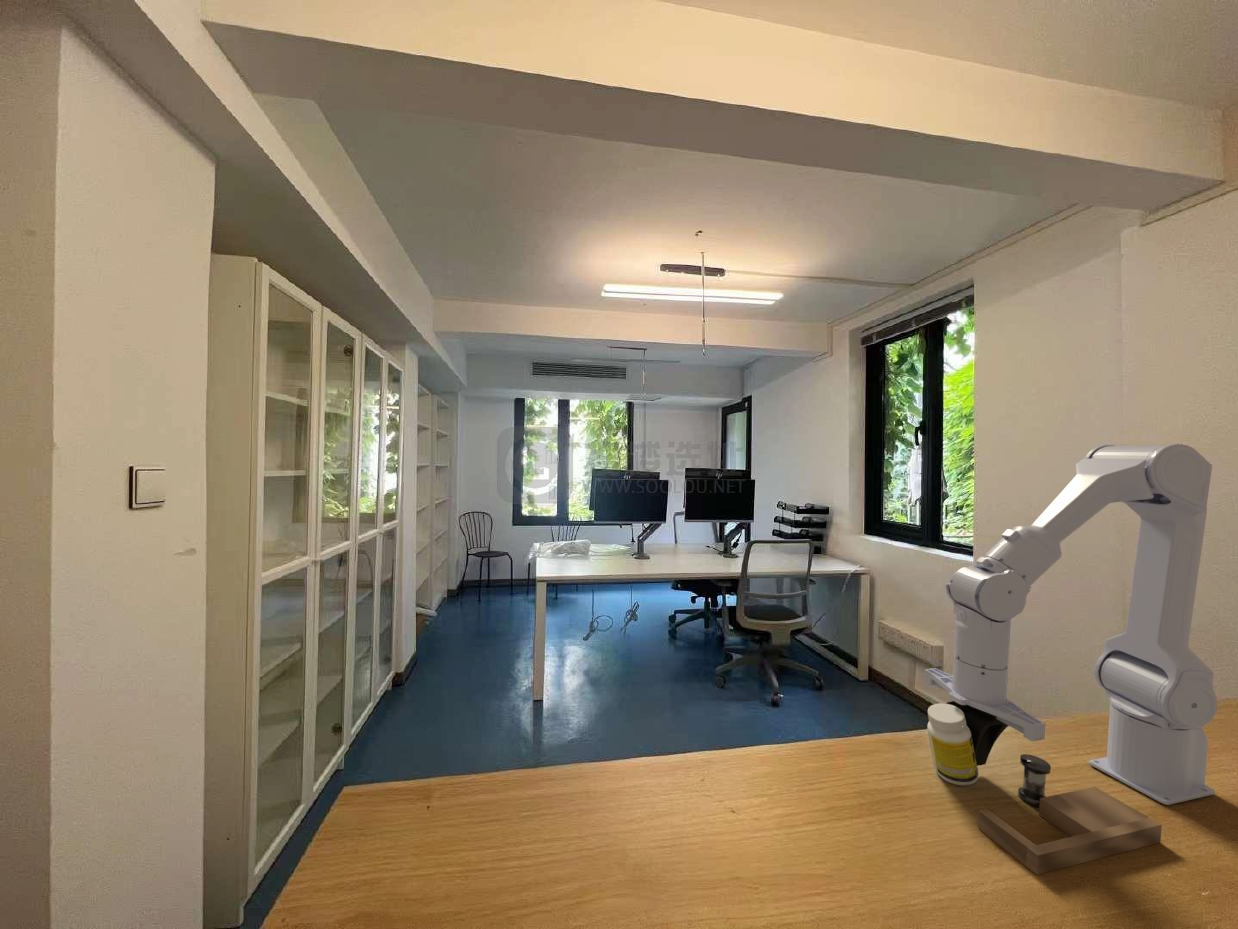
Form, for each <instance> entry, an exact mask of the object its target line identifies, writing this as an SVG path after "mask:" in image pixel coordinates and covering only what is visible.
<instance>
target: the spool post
mask: <svg viewBox="0 0 1238 929" xmlns="http://www.w3.org/2000/svg"><path fill="white" fill-rule="evenodd" d="M1019 757H1020V759H1019V763H1020V764H1021V765H1022V766H1023V776H1022V778H1023V780H1022V786H1020V787H1019V788H1018V792H1017V795H1018V798H1019V799H1020V800H1021V801H1022V802H1024V803H1025V804H1027V805H1029V804H1030V805H1029V806H1031V807H1035V808H1037V809H1039V806H1040V798H1043V797H1047V796H1046V795H1045V792H1046V777H1047V775H1049V774H1050V773H1051V771H1052V770H1051V768H1052V766H1051V764H1050V763H1049V762H1048V761H1046V760H1045V759H1043V758H1041V757H1039V756H1036V755H1032V754H1030V753H1029V754H1028V753H1024V754H1021V755H1020V756H1019Z"/></svg>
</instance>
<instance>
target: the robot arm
mask: <svg viewBox="0 0 1238 929" xmlns="http://www.w3.org/2000/svg"><path fill="white" fill-rule="evenodd" d="M1212 471H1213V465H1212V464H1211V463H1210V462H1209V461H1208V460H1207V459H1206V458H1205V457H1204V455H1202V454H1201V453H1200V452H1198V450H1197V449H1195V448H1194V447H1191V446H1190V445H1187V444H1186V445H1185V444H1182V443H1181V444H1180V443H1173V444H1167V445H1163V444H1162V445H1161V444H1160V445H1116V444H1115V445H1114V444H1101V445H1098V446H1096V447H1094V448H1092V449H1091V450H1090V451H1088V452H1087V454H1086V455H1085V457H1084V458H1081V460H1080V461H1078V462H1076V464H1075V476H1074V477H1073V478H1072V479H1071V480H1070V481H1069V483H1068V484H1067V485H1065V487H1064V488H1063V490H1061V491H1060V493H1059V494H1058V495H1057V496H1056V497H1055V498H1054V499H1053V500H1052V501H1051V503H1049V505H1048V506H1047V507H1046V508H1045V509H1044V510H1043V512H1042V513H1041V514H1039V516H1038V517H1037V518H1036V519H1035V520H1034V521H1033V523H1032V524H1031V525H1017V526H1013V527H1012V528H1011V529H1009V528H1007V529H1006V530H1005V531H1004V532H1003V533H1001V534H1000V535H1001V537H1002V538H1001V539H1000V540H999V541H998V542H996V544H995V545H993V547H991V548H990V549H989V550H988V551H987V552H986V553H985V554H984V555H983V556H979V558H978V559H976V560H975V563H974V565H968V566H967V567H966V566H964V567H961V568H959V569H958V570H956V571H955V572H954V573H953V575H952V576H951V578H950V581H949V583H945V591H946V594H947V596H948V597H949V599H950V600H951V602H952V604H953V614H955V617H954V618H955V621H954V622H955V623H954V626H955V627H954V642H953V666H952V673H951V674H950V673H948V672H945V671H944V670H943V671H942V670H940V669H938V668H935V667H933V668H925V669H924V677H923V678H924V679H923V682H924V683H925V684H927V685H929V686H934V687H936V688H938V689H941V690H942V691H944V692H947V694H948V699H949V700H951V701H947V702H946V703H945V704H950V705H953V706H955V707H957V708H959V709H960V710H962V712H963V713H964V716H965V720H966V725H967V726H968V728H969V729H970V731H971V735H972V741H973V747H974V752H975V758H976V763H977V767H978V766H983V765H986V764H987V761H988V759H989V756H990V753H991V750H992V748H993V747H994V744H995V742H996V741H997V740H998V739H999V737H1000V735H1002V734H1003V732H1004V731H1005V730H1006V729H1007V728H1008V727H1010V728H1012V729H1014V730H1015V731H1018V732H1019V733H1021V734H1023V737H1024V738H1026V739H1027V740H1028V741H1031V742H1038V741H1042V740H1043V741H1044V740H1045V739H1046V723H1045V722H1043V721H1041V720H1040V719H1038V718H1036V717H1034V716H1033V715H1031V713H1028V712H1027V711H1025V710H1024V709H1023V708H1021V707H1020V706H1019V705H1018V704H1016V703H1015V702H1013V701H1012V700H1010V698H1008V697H1007V696H1008V678H1009V663H1010V662H1009V661H1010V660H1009V659H1010V658H1009V657H1010V643H1011V642H1010V640H1011V639H1010V638H1011V625H1012V624H1011V623H1012V619H1013V618H1015V617H1017V616H1018V615H1020V614H1022V613H1023V611H1024V609H1025V606H1026V603H1027V596H1028V595H1029V593H1030V592H1031V589H1032V585H1033V584H1035V582H1036V581H1038V580H1039V578H1041V577H1042V576H1043V575H1045V573H1046V572H1047V571H1048V570H1049V569H1050V568H1051V567H1053V565H1055V563H1056V562H1059V560H1060V559H1061V558H1062V554H1063V553H1062V548H1061V542H1063V541H1065V539H1067V538H1068V537H1070V535H1072V534H1073V533H1074V532H1075V531H1077V530H1078V529H1080V528H1081V527H1082V526H1083V525H1084V524H1085V523H1087V522H1089V521H1090V519H1092V518H1093V517H1094V516H1095V515H1097V514H1098V513H1099V512H1100V511H1101V510H1103V509H1104V508H1105V507H1107V506H1109V504H1112V503H1124V504H1125V505H1126V506H1128V507H1129V508H1130V509H1131V510H1132V511H1134V513H1135V514H1136V515H1138V516H1139V517H1140V523H1139V530H1138V531H1139V532H1138V539H1137V546H1136V552H1135V554H1136V555H1135V560H1134V566H1133V576H1132V581H1131V582H1132V583H1131V589H1130V590H1131V591H1130V597H1129V598H1130V599H1129V604H1128V612H1127V618H1126V625H1125V632H1123V633H1121V634H1117V635H1114V636H1112V637H1109V638H1107V639H1105V642H1104V648H1103V651H1102V652H1101V655H1100V656H1099V658H1098V659H1097V660H1096V662H1095V665H1094V671H1093V672H1094V678H1095V680H1096V682H1097V684H1098V685H1099V687H1101V688H1102V689H1103V690H1105V692H1104V693H1105V694H1104V697H1105V699H1107V700H1108V701H1109V702H1110V703H1109V720H1108V733H1107V748H1106V749H1107V750H1106V751H1107V752H1106V756H1104V757H1100V758H1094V759H1090V760H1088V764H1089V765H1090V766H1092V767H1094V768H1096V769H1097V770H1099V771H1101V772H1103V773H1104V774H1106V775H1109V776H1110V777H1112V778H1114V779H1116V780H1118V781H1120V782H1121V783H1123V784H1125V785H1128V786H1129V787H1131V788H1133V789H1135V790H1137V791H1138V792H1141V793H1142V794H1144V795H1145V796H1148V797H1150V798H1151V799H1153V800H1155V801H1157V802H1158V803H1160V804H1163V805H1166V806H1170V805H1174V804H1178V803H1182V802H1187V801H1191V800H1196V799H1200V798H1203V797H1208V796H1212V795H1216V790H1215V789H1214V788H1212V787H1210V786H1208V785H1206V774H1207V773H1206V772H1207V761H1208V760H1207V759H1208V749H1209V748H1208V746H1209V745H1208V744H1209V743H1208V738H1207V735H1206V734H1205V731H1204V729H1203V728H1202V727H1205V726H1206V725H1208V724H1209V723H1210V722H1211V721H1212V720H1213V719H1214V718H1215V716H1216V715H1217V712H1218V698H1217V695H1216V693H1215V690H1214V684H1213V683H1214V680H1213V679H1214V675H1215V674H1214V672H1213V670H1212V669H1211V668H1210V667H1209V666H1208V665H1207V664H1206V663H1205V662H1204V661H1203V660H1202V659H1201V658H1200V657H1199V656H1198V655H1196V653H1195V652H1193V650H1192V649H1191V648H1190V647H1189V640H1190V634H1191V627H1192V621H1193V620H1192V619H1193V612H1194V605H1195V598H1196V592H1197V584H1198V578H1199V569H1200V564H1201V557H1202V549H1203V542H1204V534H1205V528H1206V520H1207V514H1208V513H1207V512H1208V498H1209V492H1210V485H1211V484H1210V483H1211V479H1212V478H1211V476H1212Z"/></svg>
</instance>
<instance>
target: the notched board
mask: <svg viewBox="0 0 1238 929" xmlns="http://www.w3.org/2000/svg"><path fill="white" fill-rule="evenodd" d="M1038 809H1039V811H1038V815H1039V816H1040V817H1041V818H1043V819H1044V820H1045V821H1047V822H1049V823H1050V824H1052V825H1053V826H1055V827H1056V828H1057V829H1059V830H1061V831H1062V832H1063V833H1065V834H1067V835H1068V836H1069V837H1068V836H1067V837H1064V838H1060V839H1057V840H1052V841H1047V842H1043V843H1040V844H1035V843H1033V841H1031V840H1029V839H1028V838H1027V837H1026V836H1024V835H1023V834H1022V833H1020V832H1019V831H1017V830H1016V829H1015V828H1013V827H1012V825H1009V823H1007V822H1005V821H1004V820H1003V819H1001V818H1000V817H999V816H997V815H995V813H993V812H992V811H990V810H989V809H987V808H986V809H981V810H978V819H977V822H978V823H977V829H978V828H979V829H980V830H979V829H978V830H979V831H981V832H982V833H983V834H985V835H986V836H987V837H988V838H990V839H991V840H992V841H993V842H995V843H996V844H998V846H1000V847H1001V848H1002V849H1003V850H1005V851H1006V852H1007V853H1009V854H1010V855H1011V856H1013V858H1014V859H1016V860H1017V861H1019V862H1020V863H1021V864H1022V865H1023V866H1025V868H1027V869H1029V870H1030V871H1031V872H1032V873H1033V874H1035V875H1036V876H1038V875H1041V874H1046V873H1049V872H1055V871H1057V870H1060V869H1066V868H1069V867H1072V866H1077V865H1080V864H1084V863H1087V862H1090V861H1095V860H1099V859H1103V858H1107V857H1110V856H1114V855H1118V854H1122V853H1125V852H1126V853H1127V852H1129V851H1133V850H1137V849H1141V848H1145V847H1148V846H1152V845H1156V844H1159V843H1161V839H1162V838H1161V837H1162V828H1163V827H1162V824H1161V823H1159V822H1158V821H1156V820H1155V819H1153V818H1151V817H1149V816H1148V815H1146V814H1144V813H1142V812H1140V811H1138V810H1137V809H1135V808H1133V807H1131V806H1129V805H1128V804H1126V803H1124V802H1122V801H1121V800H1119V799H1117V798H1115V797H1114V796H1112V795H1111V794H1108V793H1107V792H1105V791H1103V790H1102V789H1101V788H1100V789H1099V788H1098V787H1096V786H1093V787H1092V786H1091V787H1087V788H1084V789H1083V788H1082V789H1078V790H1073V791H1072V790H1071V791H1068V792H1062V793H1059V794H1054V795H1049V796H1046V797H1043V798H1040V806H1039V808H1038Z"/></svg>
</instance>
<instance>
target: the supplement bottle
mask: <svg viewBox="0 0 1238 929" xmlns="http://www.w3.org/2000/svg"><path fill="white" fill-rule="evenodd" d="M927 717H928V723H927V726H926V727H927V734H928V738H929V744H930V750H931V755H932V756H931V757H932V760H933V768H934V769H935V772H936V774H938V776H939V777H940V778H942V779H943V780H945V781H946V782H948V783H951V784H953V785H957V786H969V785H973V784H975V783H976V782H977V780H978V778H979V769H978V766H977V763H976V758H975V752H974V747H973V741H972V735H971V731H970V729H969V728H968V726H967V725H966V720H965V716H964V713H963V712H962V710H960V709H959V708H957V707H955V706H953V705H950V704H946V703H935V704H932V705H930V706H928V709H927ZM962 726H963V727H962Z"/></svg>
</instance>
